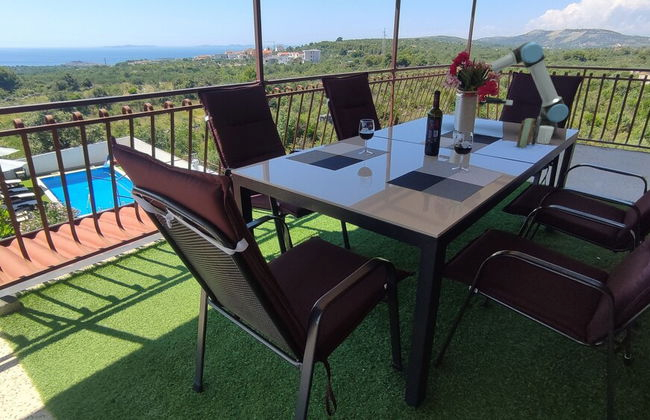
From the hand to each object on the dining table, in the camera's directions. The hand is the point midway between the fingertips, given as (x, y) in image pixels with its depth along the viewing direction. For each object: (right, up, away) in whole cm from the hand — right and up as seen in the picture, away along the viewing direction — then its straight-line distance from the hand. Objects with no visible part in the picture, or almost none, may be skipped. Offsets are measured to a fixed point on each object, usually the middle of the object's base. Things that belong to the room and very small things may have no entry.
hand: (511, 102), depth 229 cm
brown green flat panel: (+6, -26, -2) cm, 27 cm away
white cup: (+22, -24, +5) cm, 33 cm away
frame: (+8, -27, -3) cm, 28 cm away
